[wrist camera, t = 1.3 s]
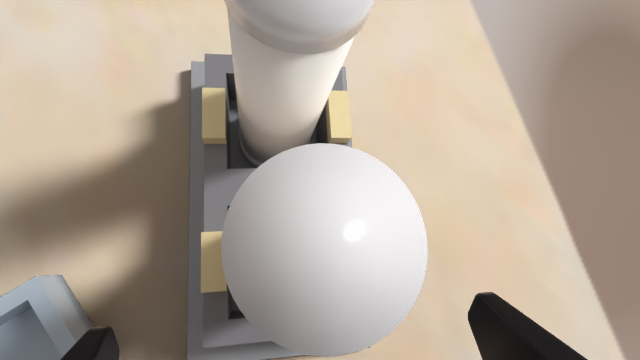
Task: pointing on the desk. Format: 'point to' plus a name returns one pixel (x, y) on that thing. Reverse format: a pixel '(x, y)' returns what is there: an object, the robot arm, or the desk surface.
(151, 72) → the desk surface
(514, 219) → the desk surface
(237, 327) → the block
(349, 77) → the desk surface
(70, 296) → the tray
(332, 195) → the white round-topped piece
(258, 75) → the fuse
